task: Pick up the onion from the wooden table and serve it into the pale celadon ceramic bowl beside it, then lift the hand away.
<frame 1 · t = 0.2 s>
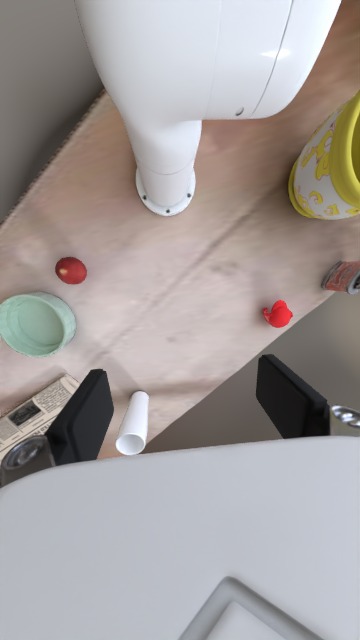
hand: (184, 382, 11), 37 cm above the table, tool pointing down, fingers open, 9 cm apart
red toy figurine: (271, 310, 49), on the table
onion: (80, 270, 43), on the table
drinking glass: (140, 397, 54), on the table
lighter: (332, 275, 47), on the table
flowerpot: (314, 184, 41), on the table
newspaper: (45, 424, 55), on the table
bowl: (46, 321, 46), on the table
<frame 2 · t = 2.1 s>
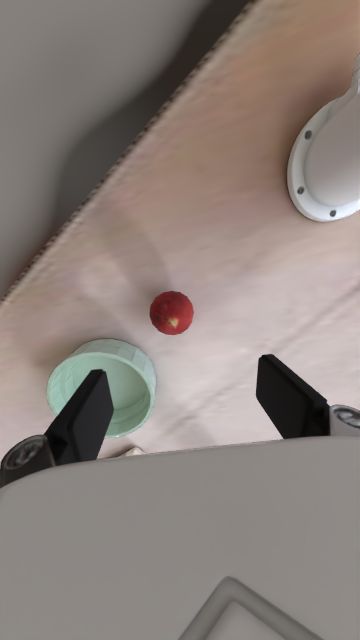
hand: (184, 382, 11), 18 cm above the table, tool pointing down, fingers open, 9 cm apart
onion: (171, 306, 28), on the table
bowl: (112, 378, 31), on the table
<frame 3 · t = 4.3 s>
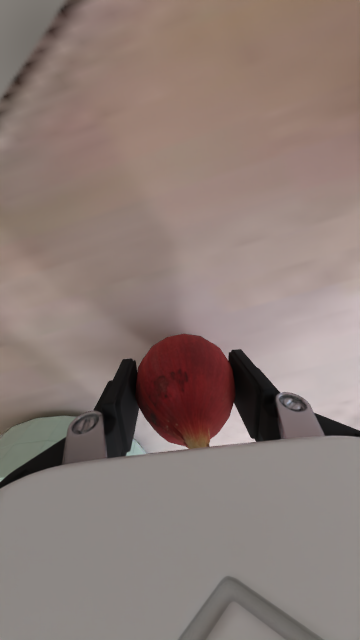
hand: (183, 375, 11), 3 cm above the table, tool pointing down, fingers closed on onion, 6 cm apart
onion: (180, 352, 15), on the table, touching gripper
bowl: (75, 473, 17), on the table
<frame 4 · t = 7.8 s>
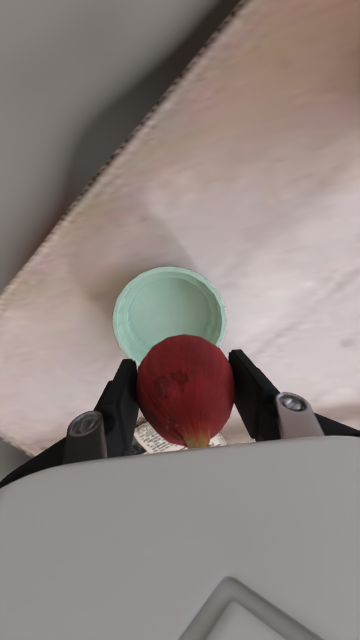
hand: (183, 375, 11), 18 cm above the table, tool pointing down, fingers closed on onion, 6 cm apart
onion: (180, 352, 15), point 15 cm above the table, touching gripper
newspaper: (140, 465, 38), on the table
bowl: (170, 315, 29), on the table
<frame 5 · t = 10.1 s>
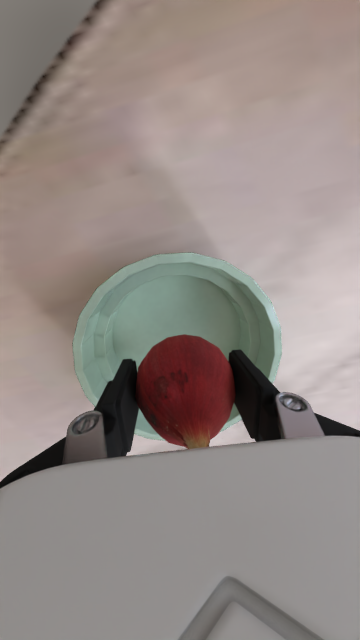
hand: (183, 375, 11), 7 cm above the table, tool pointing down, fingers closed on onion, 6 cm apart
onion: (180, 352, 15), point 3 cm above the table, touching gripper
bowl: (177, 337, 18), on the table
when the fingers open (4 cm above the table, at t = 11.6 s): onion stays where it is, resting on bowl.
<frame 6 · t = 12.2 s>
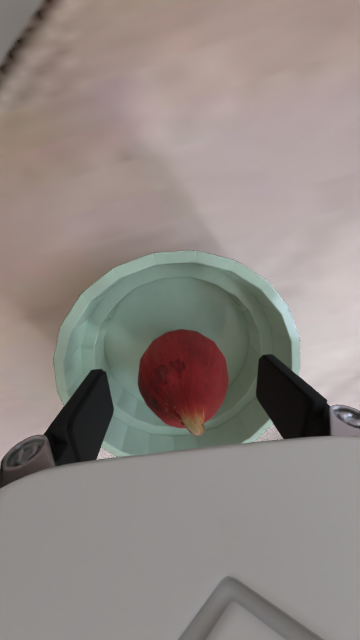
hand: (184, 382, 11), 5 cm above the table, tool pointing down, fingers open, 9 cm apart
onion: (179, 347, 16), resting on bowl
bowl: (178, 346, 16), on the table
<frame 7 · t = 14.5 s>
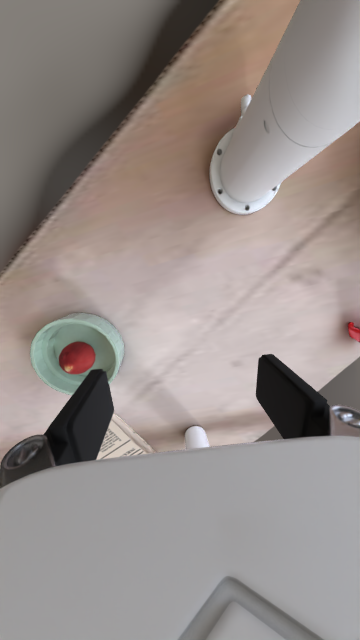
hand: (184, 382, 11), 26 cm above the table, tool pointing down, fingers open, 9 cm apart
red toy figurine: (355, 325, 41), on the table
onion: (86, 348, 36), resting on bowl
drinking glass: (194, 432, 45), on the table
newspaper: (80, 470, 45), on the table
bowl: (87, 348, 37), on the table
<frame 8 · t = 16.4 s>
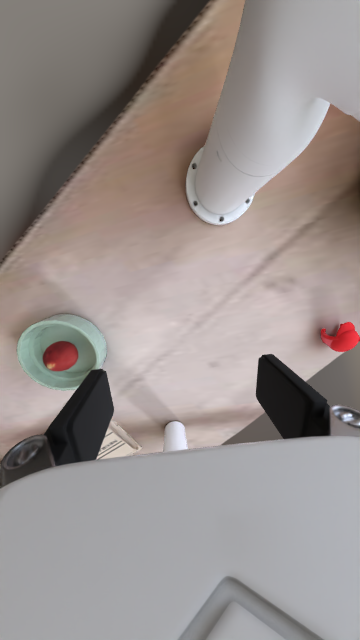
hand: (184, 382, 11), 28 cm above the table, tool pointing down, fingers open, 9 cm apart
red toy figurine: (328, 331, 43), on the table
onion: (71, 347, 39), resting on bowl
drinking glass: (174, 427, 48), on the table
newspaper: (67, 458, 49), on the table
bowl: (72, 346, 39), on the table
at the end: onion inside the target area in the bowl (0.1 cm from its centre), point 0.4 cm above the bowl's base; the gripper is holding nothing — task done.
